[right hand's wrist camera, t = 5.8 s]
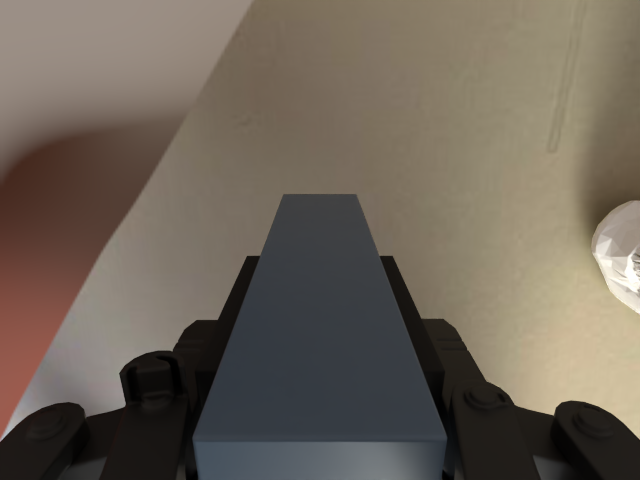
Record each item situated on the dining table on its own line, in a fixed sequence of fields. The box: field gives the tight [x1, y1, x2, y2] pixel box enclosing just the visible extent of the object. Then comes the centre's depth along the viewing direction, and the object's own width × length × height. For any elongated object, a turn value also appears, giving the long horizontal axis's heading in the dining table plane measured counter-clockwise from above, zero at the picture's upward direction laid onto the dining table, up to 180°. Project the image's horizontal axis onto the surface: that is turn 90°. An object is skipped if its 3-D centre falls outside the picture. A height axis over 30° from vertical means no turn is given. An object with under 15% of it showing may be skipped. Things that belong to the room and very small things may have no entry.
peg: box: [192, 194, 447, 480], centre depth 14 cm, size 4×4×16 cm
